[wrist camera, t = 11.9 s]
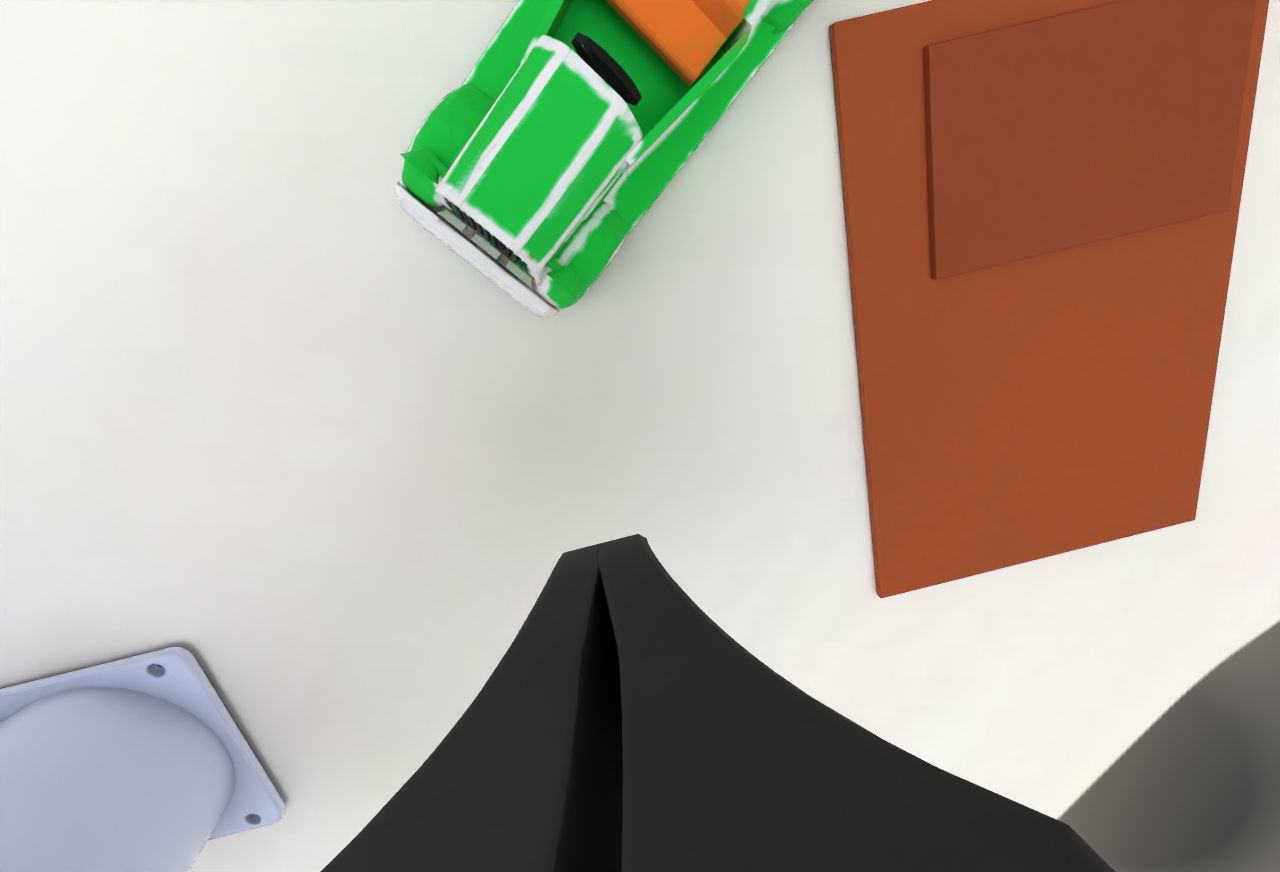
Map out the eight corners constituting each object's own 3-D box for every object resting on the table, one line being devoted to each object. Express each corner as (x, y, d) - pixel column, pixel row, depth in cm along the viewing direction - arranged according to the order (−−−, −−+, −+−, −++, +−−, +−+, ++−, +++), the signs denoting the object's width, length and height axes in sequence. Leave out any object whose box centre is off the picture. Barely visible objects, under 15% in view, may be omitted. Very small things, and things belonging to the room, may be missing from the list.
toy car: (554, 322, 17) (548, 354, 13) (398, 199, 16) (336, 191, 12) (849, -53, 15) (954, -157, 11) (699, -242, 13) (754, -447, 9)
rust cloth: (876, 593, 22) (884, 603, 21) (829, 25, 15) (838, 18, 15) (1187, 516, 22) (1203, 524, 21) (1267, -74, 16) (1294, -85, 15)
